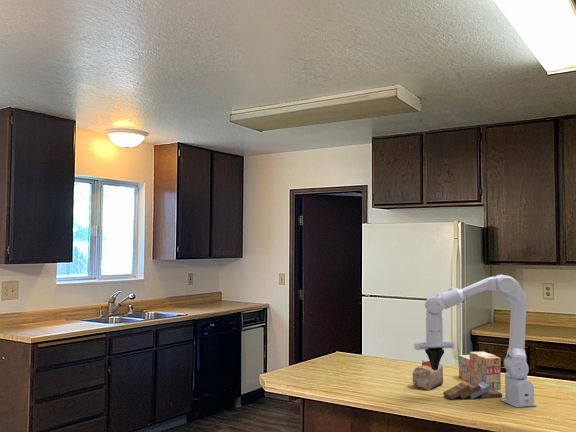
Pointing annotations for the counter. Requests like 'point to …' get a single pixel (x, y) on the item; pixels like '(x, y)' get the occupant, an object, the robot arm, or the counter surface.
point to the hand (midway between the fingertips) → (434, 369)
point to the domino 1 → (456, 391)
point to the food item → (427, 376)
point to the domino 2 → (471, 390)
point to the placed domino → (484, 389)
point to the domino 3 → (490, 394)
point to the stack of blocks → (481, 369)
